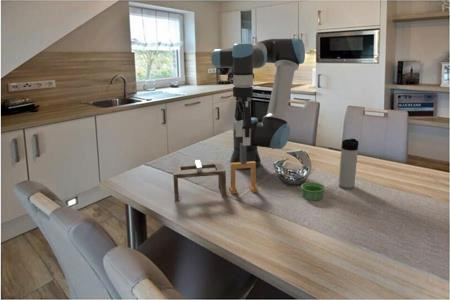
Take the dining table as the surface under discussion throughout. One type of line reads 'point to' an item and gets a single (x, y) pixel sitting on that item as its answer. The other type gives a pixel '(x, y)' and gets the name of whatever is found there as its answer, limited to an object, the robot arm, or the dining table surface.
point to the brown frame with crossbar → (219, 171)
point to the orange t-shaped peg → (243, 165)
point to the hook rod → (198, 165)
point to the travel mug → (348, 163)
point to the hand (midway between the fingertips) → (242, 140)
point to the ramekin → (312, 191)
